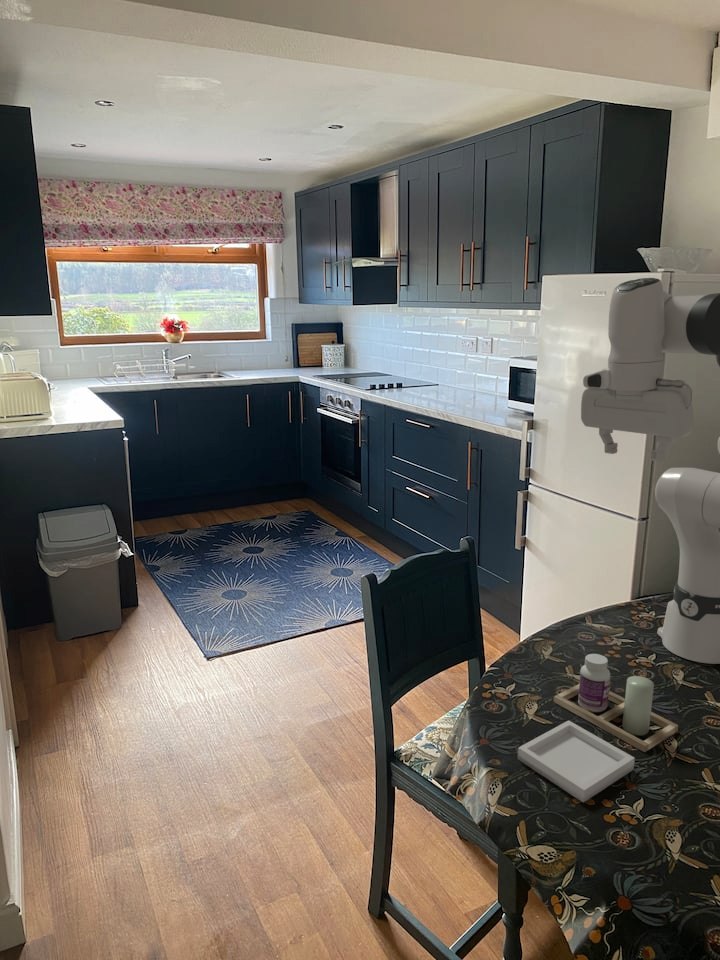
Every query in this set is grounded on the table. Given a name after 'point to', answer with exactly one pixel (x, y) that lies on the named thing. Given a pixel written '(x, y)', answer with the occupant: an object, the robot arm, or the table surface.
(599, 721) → the light wood flat frame
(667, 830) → the table surface
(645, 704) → the sage vial
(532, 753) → the grey tray
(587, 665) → the pill bottle
